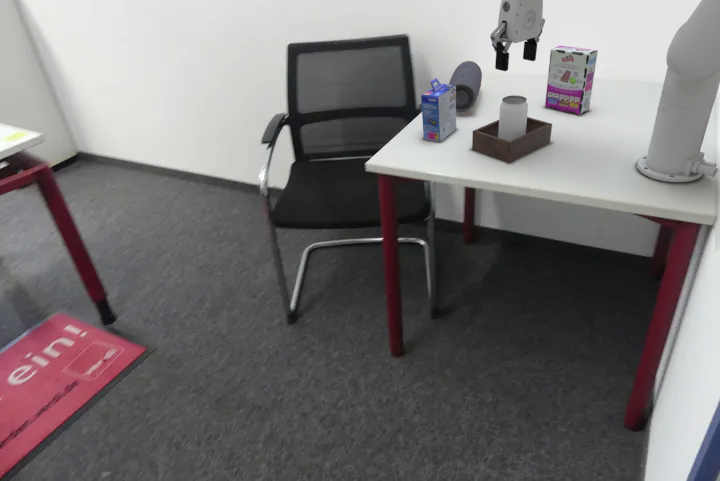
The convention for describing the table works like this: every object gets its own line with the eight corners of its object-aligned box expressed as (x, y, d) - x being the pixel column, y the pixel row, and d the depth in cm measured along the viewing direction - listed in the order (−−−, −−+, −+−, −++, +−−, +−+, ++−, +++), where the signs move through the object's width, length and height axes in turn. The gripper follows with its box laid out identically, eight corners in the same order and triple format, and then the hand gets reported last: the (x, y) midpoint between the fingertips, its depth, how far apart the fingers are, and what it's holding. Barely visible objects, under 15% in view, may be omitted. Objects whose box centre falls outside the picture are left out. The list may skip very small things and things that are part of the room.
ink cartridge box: (438, 126, 149) (438, 73, 141) (456, 129, 146) (457, 75, 138) (421, 139, 142) (420, 85, 134) (440, 142, 139) (439, 87, 131)
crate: (550, 142, 133) (552, 123, 131) (509, 163, 126) (510, 143, 123) (512, 131, 141) (513, 113, 139) (471, 149, 134) (472, 130, 131)
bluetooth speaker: (477, 117, 152) (478, 82, 146) (444, 116, 154) (444, 82, 149) (482, 90, 170) (484, 58, 165) (453, 90, 172) (453, 59, 167)
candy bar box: (589, 110, 149) (599, 49, 140) (580, 115, 146) (589, 54, 137) (553, 102, 156) (560, 44, 147) (543, 107, 154) (550, 48, 145)
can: (525, 151, 130) (529, 103, 124) (497, 151, 132) (500, 104, 125) (523, 141, 136) (527, 94, 129) (497, 141, 137) (500, 95, 131)
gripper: (509, -9, 107) (503, 77, 116) (562, -22, 115) (552, 59, 125) (481, -12, 112) (477, 70, 122) (533, -25, 120) (526, 53, 130)
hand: (515, 64), depth 123 cm, fingers open, 9 cm apart
